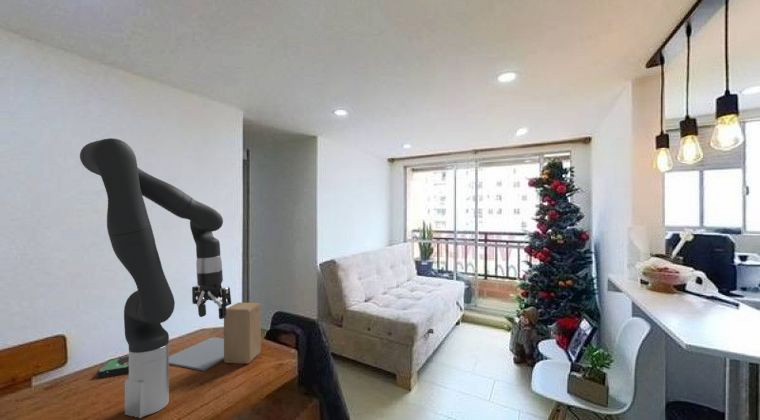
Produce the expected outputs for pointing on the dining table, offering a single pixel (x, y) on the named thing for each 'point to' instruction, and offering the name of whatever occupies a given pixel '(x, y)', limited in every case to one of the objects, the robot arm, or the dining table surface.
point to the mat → (200, 355)
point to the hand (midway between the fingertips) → (212, 317)
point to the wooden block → (242, 333)
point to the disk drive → (114, 367)
